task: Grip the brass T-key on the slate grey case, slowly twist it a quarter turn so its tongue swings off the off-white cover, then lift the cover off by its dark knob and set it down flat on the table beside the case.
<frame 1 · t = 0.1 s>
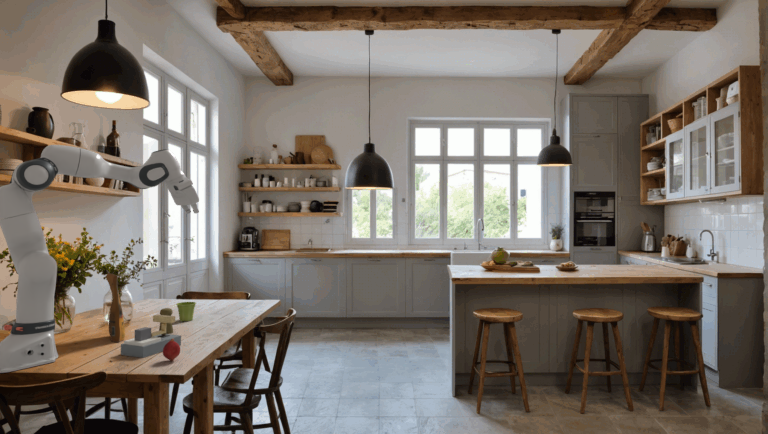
hand: (192, 212, 211), 54 cm above the table, tool tilted 30°, fingers open, 8 cm apart
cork: (165, 333, 216), on the table
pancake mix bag: (115, 338, 205), on the table
plant pot: (186, 320, 243), on the table
t key: (158, 326, 190), point 8 cm above the table, hinge at 0.0°
case: (151, 349, 187), on the table
onion: (171, 361, 173), on the table
cover: (142, 342, 183), point 4 cm above the table, touching case
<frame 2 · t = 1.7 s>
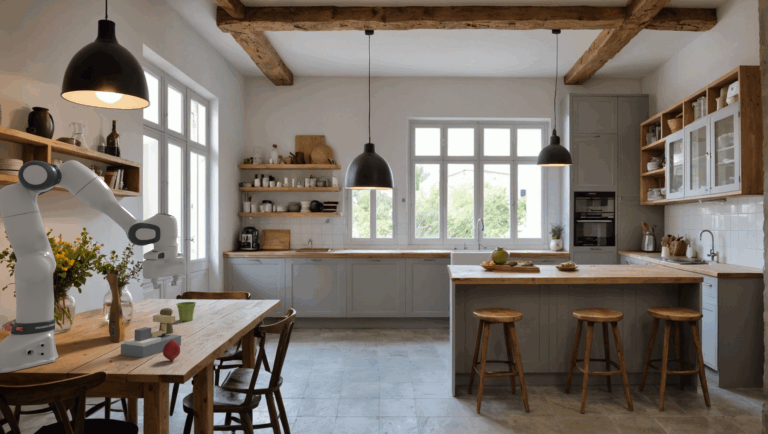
hand: (165, 287, 194), 24 cm above the table, tool pointing down, fingers open, 8 cm apart
nothing on the table moved.
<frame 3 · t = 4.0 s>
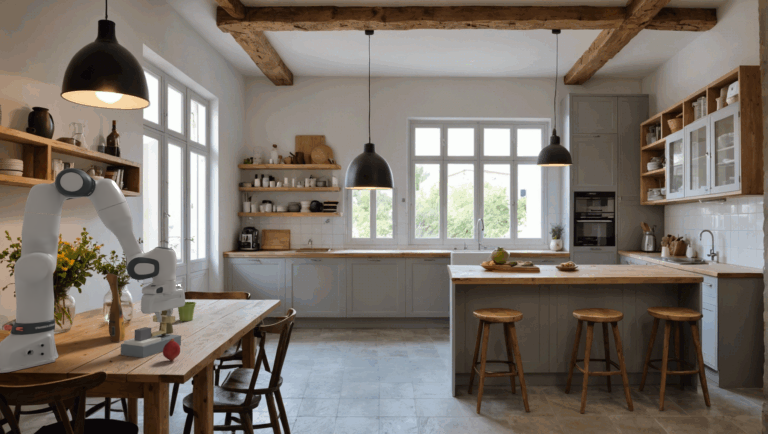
hand: (163, 321, 193), 10 cm above the table, tool pointing down, fingers closed on t key, 2 cm apart
t key: (158, 326, 190), point 8 cm above the table, hinge at 0.0°, touching gripper
everything else where it was.
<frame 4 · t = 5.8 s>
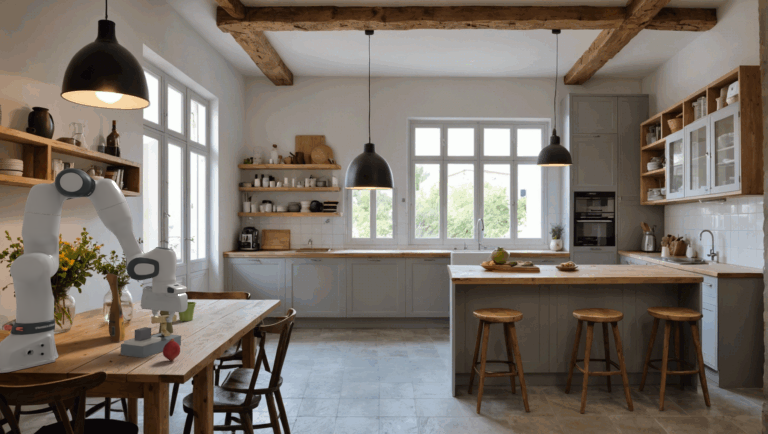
hand: (163, 321, 193), 10 cm above the table, tool pointing down, fingers closed on t key, 4 cm apart
t key: (165, 326, 191), point 8 cm above the table, hinge at 54.7°, touching gripper
everything else where it was.
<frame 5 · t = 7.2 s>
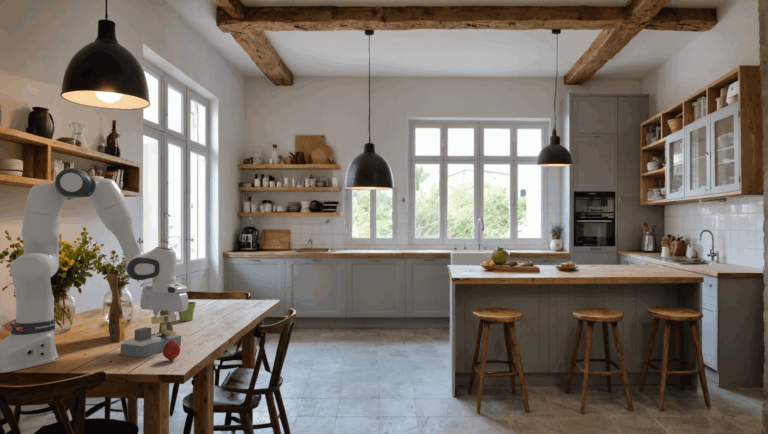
hand: (163, 321, 193), 10 cm above the table, tool pointing down, fingers closed on t key, 3 cm apart
t key: (167, 326, 191), point 8 cm above the table, hinge at 71.6°, touching gripper
everything else where it was.
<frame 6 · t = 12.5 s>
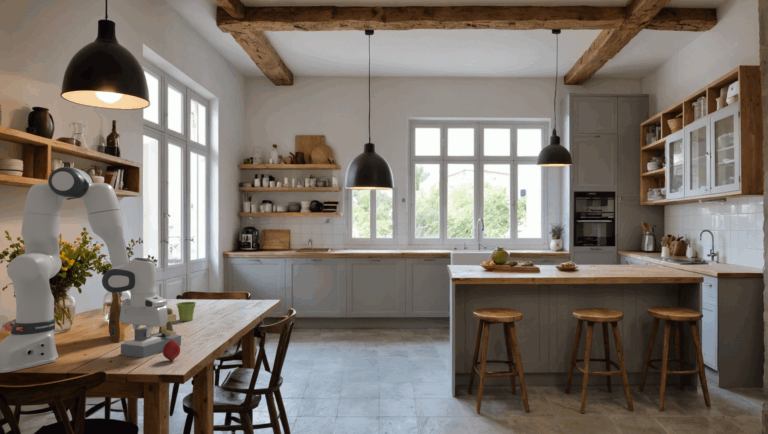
hand: (142, 336, 183), 6 cm above the table, tool pointing down, fingers closed on cover, 3 cm apart
t key: (167, 326, 191), point 8 cm above the table, hinge at 72.3°
cover: (142, 342, 183), point 4 cm above the table, touching case, gripper
everything else where it was.
when the fingers open (4 cm above the table, at t = 19.6 s): cover drops 2 cm, on the table.
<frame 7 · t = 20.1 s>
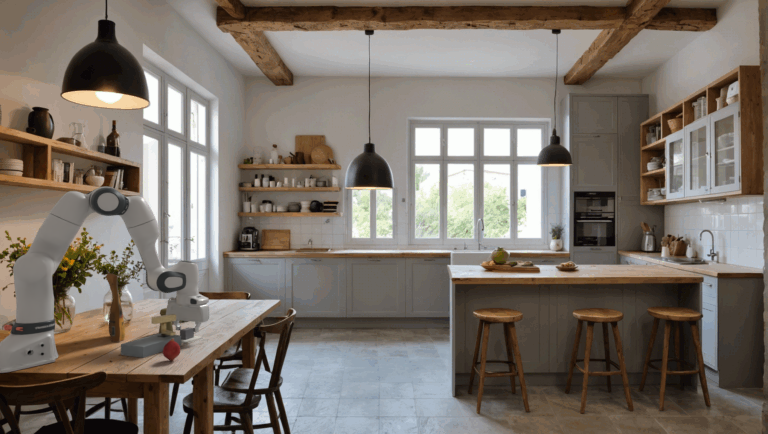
hand: (187, 331, 203), 4 cm above the table, tool pointing down, fingers open, 8 cm apart
cover: (186, 341, 203), on the table
everything else where it was.
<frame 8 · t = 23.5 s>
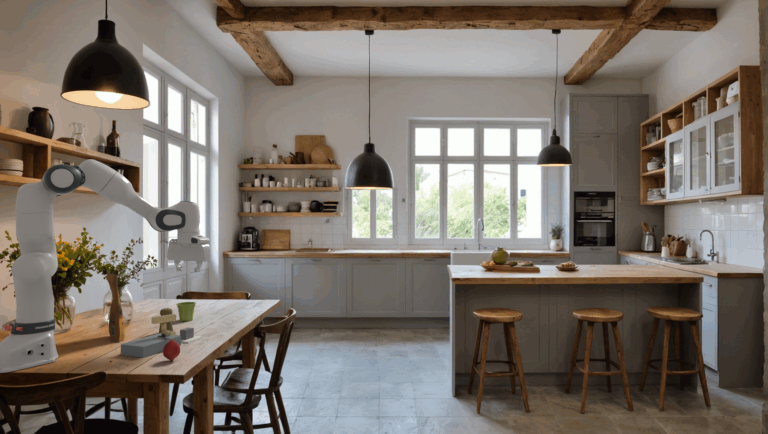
hand: (188, 271, 204), 29 cm above the table, tool pointing down, fingers open, 8 cm apart
nothing on the table moved.
at the end: t key at +72° (first picture: +0°); cover inside the target area (0.1 cm from its centre), on the table; cover tilted 0° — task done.
